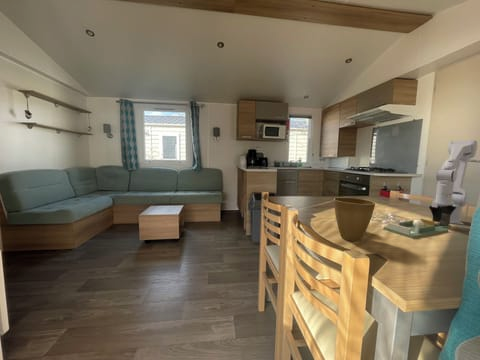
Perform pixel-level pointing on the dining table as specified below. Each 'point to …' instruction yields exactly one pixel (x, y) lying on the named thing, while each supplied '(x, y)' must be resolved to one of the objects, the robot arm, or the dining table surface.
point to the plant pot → (353, 217)
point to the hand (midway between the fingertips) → (441, 220)
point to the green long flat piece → (420, 229)
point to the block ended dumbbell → (443, 221)
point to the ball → (418, 223)
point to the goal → (402, 228)
